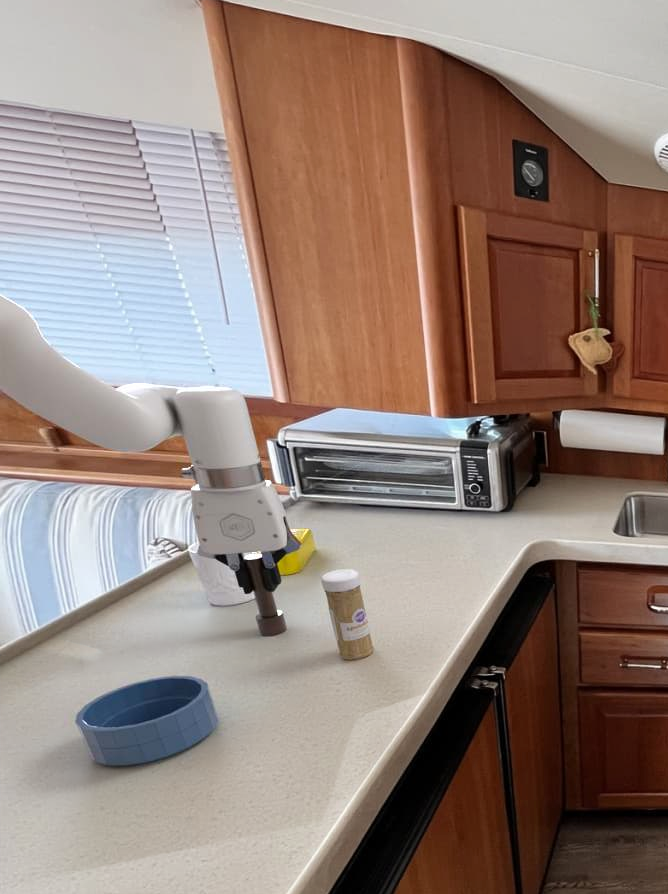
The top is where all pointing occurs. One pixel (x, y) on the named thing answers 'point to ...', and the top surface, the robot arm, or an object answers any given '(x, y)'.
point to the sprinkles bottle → (347, 613)
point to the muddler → (264, 599)
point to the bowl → (147, 720)
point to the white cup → (218, 580)
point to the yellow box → (297, 553)
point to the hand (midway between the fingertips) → (262, 588)
